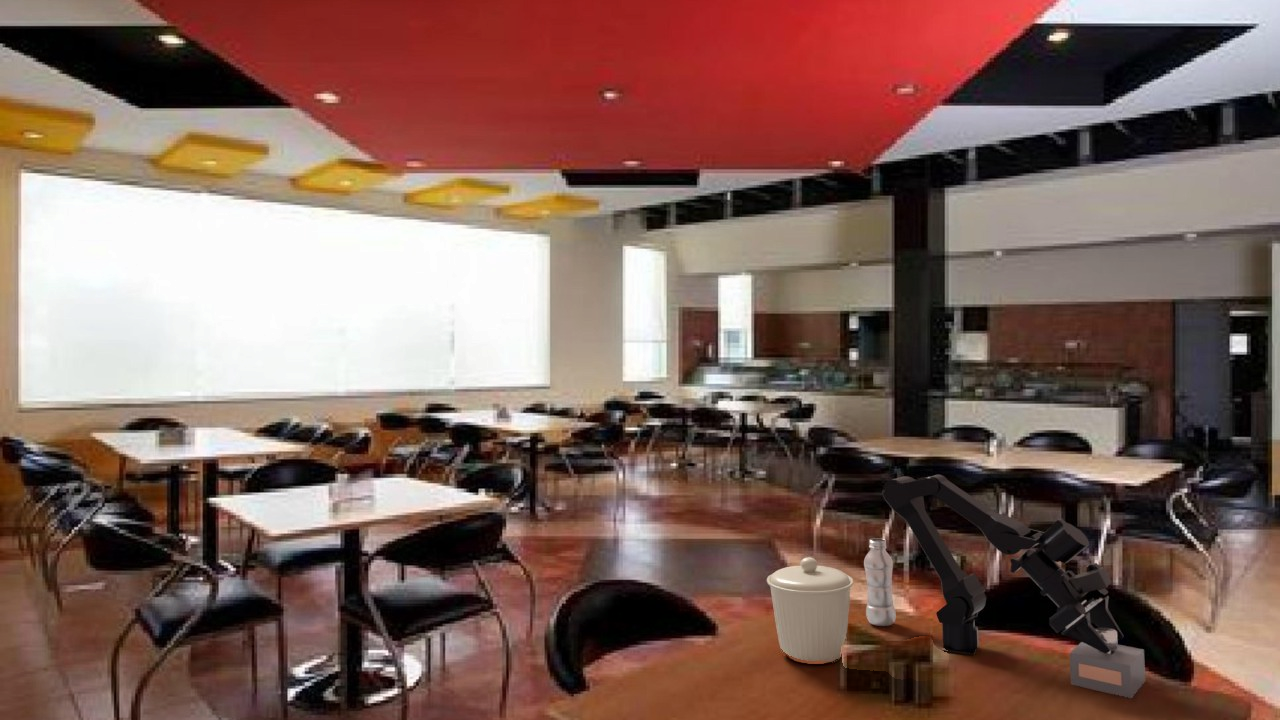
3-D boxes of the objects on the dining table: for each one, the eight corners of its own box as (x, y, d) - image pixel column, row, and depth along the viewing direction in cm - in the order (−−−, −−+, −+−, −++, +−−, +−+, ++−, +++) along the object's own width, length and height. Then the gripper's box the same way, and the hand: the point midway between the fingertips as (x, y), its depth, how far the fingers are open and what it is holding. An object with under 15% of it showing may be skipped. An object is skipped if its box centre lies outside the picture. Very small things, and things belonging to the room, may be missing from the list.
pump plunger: (1094, 677, 151) (1092, 631, 151) (1100, 671, 154) (1098, 626, 154) (1116, 681, 149) (1114, 635, 149) (1121, 675, 151) (1119, 630, 151)
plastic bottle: (897, 629, 184) (894, 543, 184) (867, 628, 186) (863, 543, 186) (894, 620, 191) (891, 537, 191) (865, 619, 192) (861, 536, 192)
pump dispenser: (1070, 684, 151) (1069, 653, 151) (1086, 668, 158) (1085, 638, 158) (1131, 699, 144) (1129, 665, 144) (1145, 681, 151) (1143, 649, 151)
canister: (752, 657, 171) (748, 559, 171) (803, 635, 183) (799, 543, 183) (823, 680, 157) (819, 573, 157) (873, 655, 170) (869, 556, 170)
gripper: (1065, 562, 147) (1136, 634, 139) (1094, 543, 160) (1160, 608, 153) (1022, 597, 153) (1088, 668, 145) (1054, 575, 166) (1116, 640, 158)
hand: (1115, 645), depth 150 cm, fingers open, 9 cm apart
